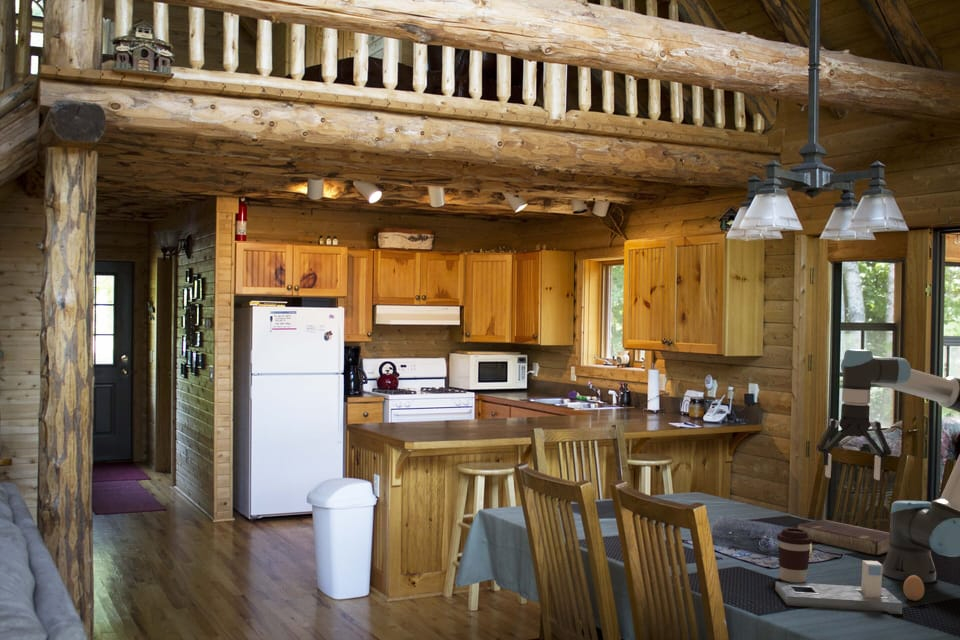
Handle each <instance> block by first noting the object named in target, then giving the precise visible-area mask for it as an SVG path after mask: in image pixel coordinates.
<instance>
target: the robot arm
mask: <svg viewBox="0 0 960 640" xmlns="http://www.w3.org/2000/svg"><path fill="white" fill-rule="evenodd" d="M840 369H841V372H842V391H841V392H842V393H841V401H842V402H843V403H842V404H841V409H840V419H839V420H835V419H833V418H830V419H829V420H828V425H827V426H828V427H827V428H826V429H825V431H824V433H823V435H822V437H821V438H820V440H819V442H818V443H817V445H816V447H815V449H816V451H817V452H820V453H822V465H824V466H825V472H824V475H825V477H826V478H829V479H831V476H832V475H831V473H832V472H831V471H832V456H833V455H832V454H830V453H831V451H832V450H833V449H834V448H836V446H837V445H838V444H840V442H841V441H842V440H843V439H844V438H846V436H848V437H858V438H861V437H864V439H865V441H866V442H867V443H868V444H869V445H870V447H871V448H872V449H873V450H874V451H875V453H876V454H877V455H874V465H873V467H874V468H873V479H874V480H877V481H880V480H881V469H884V466H885V465H884V464H885V458H886V456H891V455H892V451H891V450H892V449H891V448H890V446H889V444H888V442H887V440H886V438H885V435H884V433H883V431H882V423H881V422H880V421H876V420H875V421H870V411H871V410H870V409H871V408H870V405H869V404H870V403H871V389H872V387H871V386H872V384H874V385H876V386H880V387H885V388H888V389H892V390H894V391H898V392H901V393H906V394H907V395H908V394H909V395H913V396H916V397H919V398H922V399H926V400H930V401H934V402H936V403H937V404H938V405H939V406H940V407H943V408H947V409H950V410H952V411H955V412H957V413H960V378H958V377H954V376H947V377H942V376H938V375H935V374H931V373H929V372H923V371H920V370H917V369H914V368H911V364H910V362H909V361H908V360H907V359H906V358H903V357H897V356H893V357H891V356H888V357H887V356H881V355H880V356H878V355H873V352H872V350H871V349H870V350H869V349H858V348H857V349H856V348H854V349H853V348H852V349H851V348H849V349H846V350H845V351H844V355H843V359H842V361H841V364H840ZM838 426H839V427H840V430H839V431H838V433H837V434H836V435H835V436H834V437H833V438H832V439H831V440H830V438H831V436H832V435H833V433H834V431H835V429H837V428H838ZM870 428H871V429H872V430H874V433H875V435H876V437H877V439H878V443H879V444H880V446H881V447H880V446H879V445H878V444H877V442H876V441H875V439H873V437H872V436H871V434H870V433H869V429H870ZM829 440H830V441H829ZM881 448H882V449H881ZM889 514H890V520H889V521H890V523H889V525H890V526H889V527H890V528H889V533H890V546H889V550H888V552H886V556H885V558H884V560H883V563H882V575H884V576H886V577H887V578H888V577H889V578H891V579H894V580H899V581H903V582H905V581H906V579H907V578H908V577H909V576H912V575H916V576H918V577H919V578H920V579H921V580H922V582H923V584H925V583H932V582H935V581H936V580H937V571H936V567H935V563H934V561H933V556H932V553H931V552H934V553H936V554H938V555H940V556H946V557H950V558H956V557H960V454H959V455H958V456H957V460H956V462H955V464H954V466H953V469H952V471H951V473H950V475H949V478H948V479H947V482H946V484H945V487H944V488H943V491H942V494H941V495H940V497H939V498H938V499H935V500H932V502H931V501H923V500H896V501H893V502H892V503H891V509H890V513H889Z"/></svg>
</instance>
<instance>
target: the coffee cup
mask: <svg viewBox="0 0 960 640" xmlns="http://www.w3.org/2000/svg"><path fill="white" fill-rule="evenodd" d="M776 540H777V541H778V547H777V548H778V566H779V579H781V580H782V581H784V582H794V583H806V581H807V571H808V568H809V564H810V553H811V549H810V548H811V547H810V545H812V543H813V541H812V537H811V536H809V535H808V533H807V531H805V530H802V529H798V527H795V528H794V527H785V528H783V529H782V531H780V532H778V533H777V534H776Z"/></svg>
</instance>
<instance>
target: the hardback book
mask: <svg viewBox="0 0 960 640" xmlns="http://www.w3.org/2000/svg"><path fill="white" fill-rule="evenodd" d="M797 529H802V530H805V531H807V533H808V535H809V536H811V537H812V542H816V543H821V544H826V545H829V546H834V547H838V548H843V549H847V550H853V551H857V552H861V553H865V554H870V555H875V556H879V555H882V554H885V553H888V550H889V546H890V532H888V531H883V530H878V529H873V528H867V527H865V526H863V527H862V526H858V525H853V524H848V523H843V522H840V521H839V522H837V521H835V520H834V521H833V520H828V519H819V520H814V521H809V522H804V523H799V524H797Z"/></svg>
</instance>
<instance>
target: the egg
mask: <svg viewBox="0 0 960 640" xmlns="http://www.w3.org/2000/svg"><path fill="white" fill-rule="evenodd" d="M924 584H925V583H923V582H922V580H921V579H920V578H919V577H918V576H916V575H912V576H909V577H908V578H907V579H906V581H903V589H902V590H903V593H904V595H905V596H906V597H907V599H908V600H909V601H914V602H915V601H919V600H921V598H923V597H924V595H925V585H924Z"/></svg>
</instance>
